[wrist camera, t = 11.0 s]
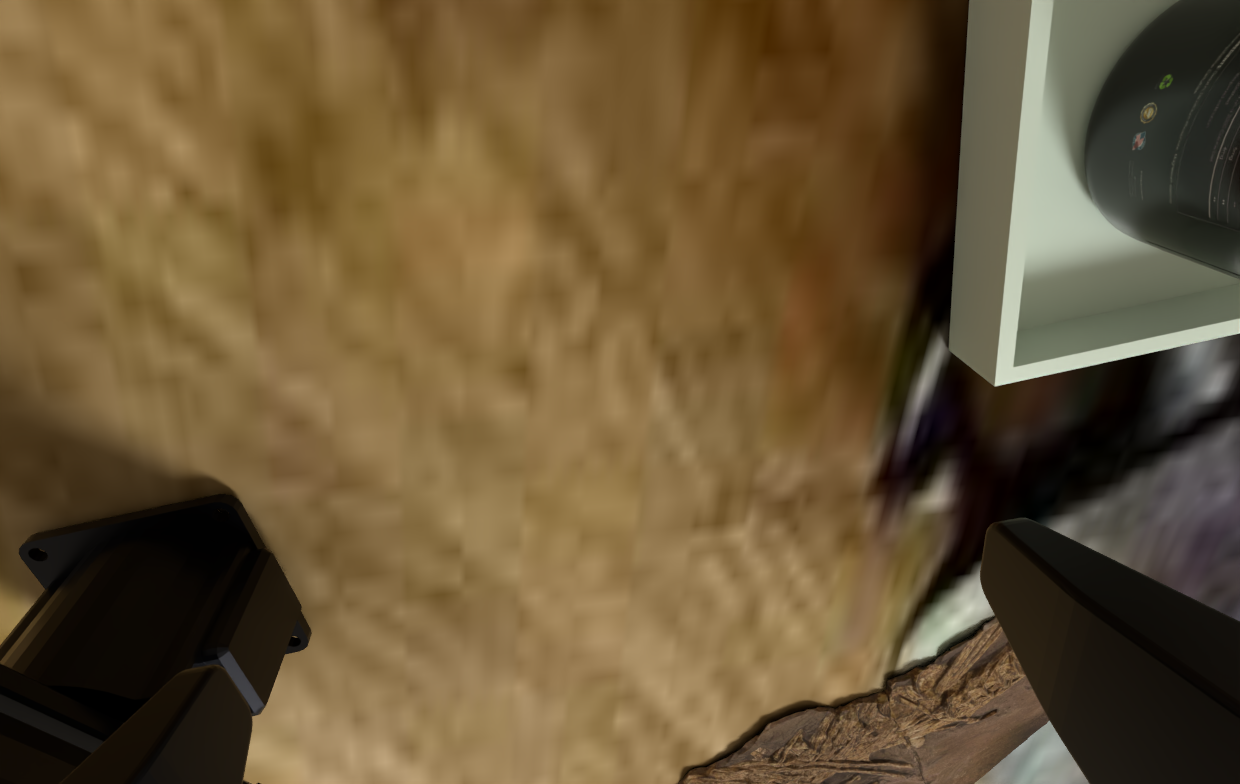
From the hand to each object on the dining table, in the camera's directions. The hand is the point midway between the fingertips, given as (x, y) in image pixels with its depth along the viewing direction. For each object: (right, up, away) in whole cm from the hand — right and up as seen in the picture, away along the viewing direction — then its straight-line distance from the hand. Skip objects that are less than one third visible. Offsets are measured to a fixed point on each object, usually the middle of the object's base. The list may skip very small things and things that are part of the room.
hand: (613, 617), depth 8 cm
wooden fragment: (+10, -14, +25) cm, 30 cm away
